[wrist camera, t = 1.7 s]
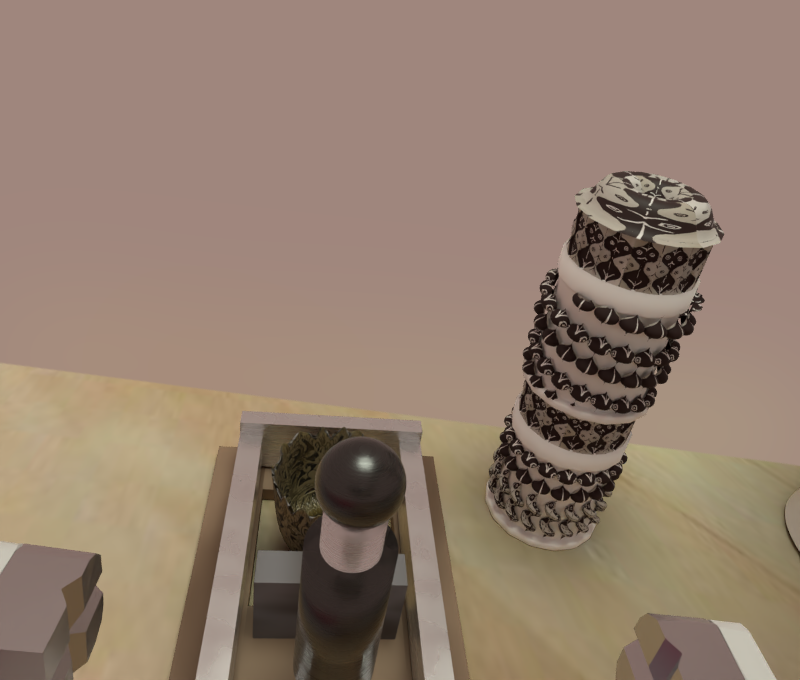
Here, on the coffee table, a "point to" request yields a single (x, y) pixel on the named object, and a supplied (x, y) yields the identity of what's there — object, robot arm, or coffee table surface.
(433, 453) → the coffee table surface
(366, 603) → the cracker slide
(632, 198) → the decorative candle
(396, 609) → the base
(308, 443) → the cup
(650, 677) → the robot arm
